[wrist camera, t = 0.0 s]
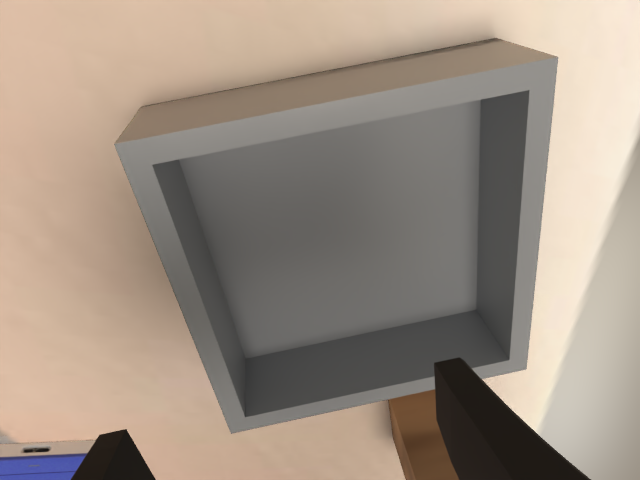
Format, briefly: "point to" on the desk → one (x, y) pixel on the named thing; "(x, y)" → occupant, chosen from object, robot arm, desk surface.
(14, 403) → the desk surface
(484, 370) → the grey bin
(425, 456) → the walnut block
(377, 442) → the desk surface
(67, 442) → the hard drive
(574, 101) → the desk surface
